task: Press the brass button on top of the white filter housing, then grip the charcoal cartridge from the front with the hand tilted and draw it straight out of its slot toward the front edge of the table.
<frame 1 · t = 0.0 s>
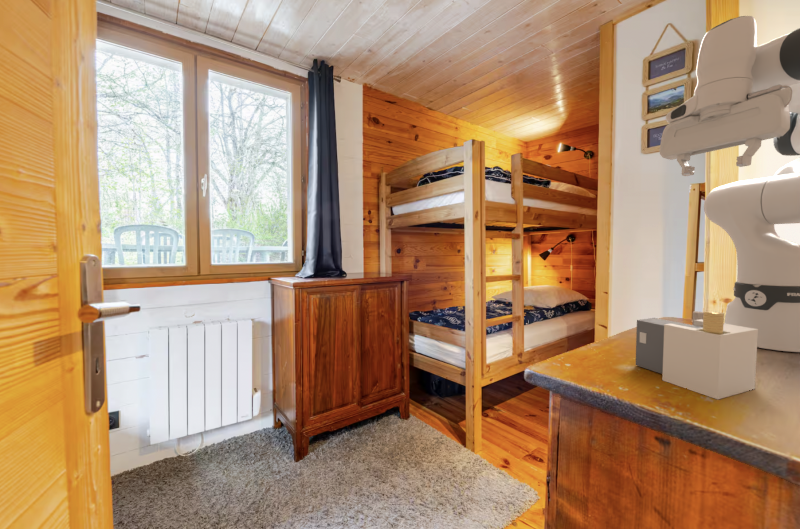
hand: (713, 170, 70), 39 cm above the table, tool pointing down, fingers open, 8 cm apart
cartridge: (669, 347, 63), point 5 cm above the table, slide at 0.0 cm
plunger: (712, 331, 55), point 10 cm above the table, slide at 0.0 cm
pipe connector: (696, 361, 70), on the table
housing: (707, 384, 58), on the table
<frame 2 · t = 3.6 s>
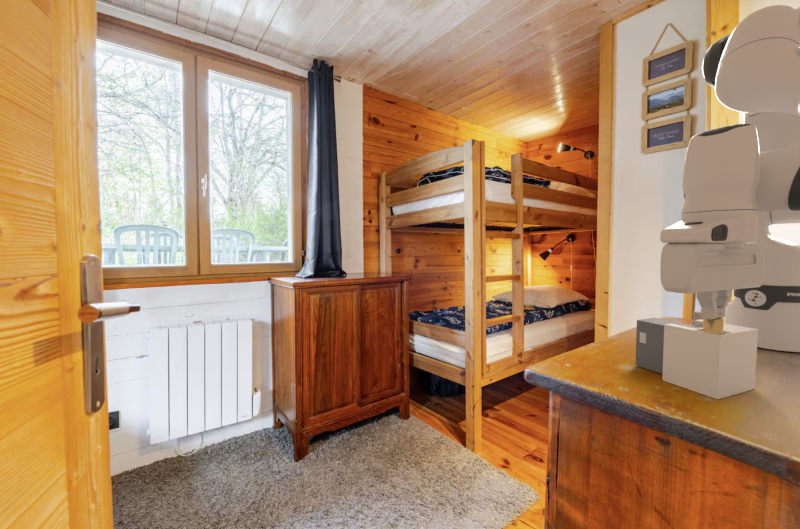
hand: (713, 318, 54), 12 cm above the table, tool pointing down, fingers closed, pressing on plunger
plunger: (712, 336, 55), point 9 cm above the table, slide at 0.9 cm, touching gripper
everything else where it was.
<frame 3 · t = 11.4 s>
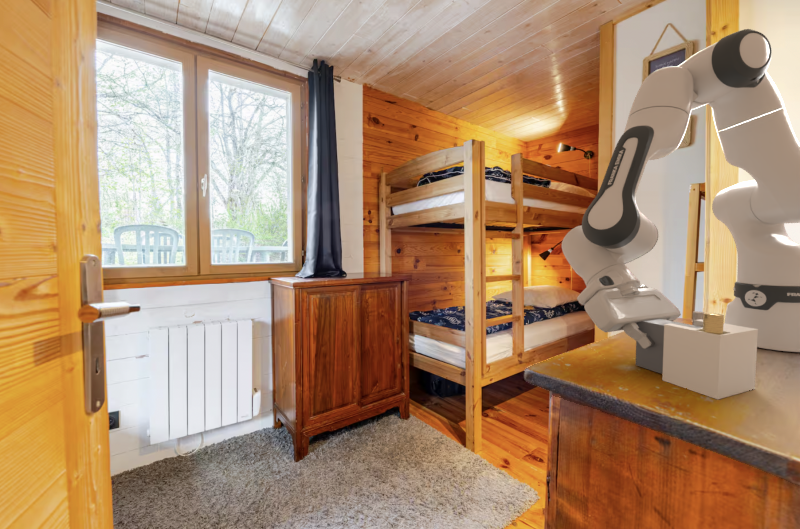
hand: (661, 344, 65), 5 cm above the table, tool tilted 45°, fingers closed on cartridge, 5 cm apart
cartridge: (669, 347, 63), point 5 cm above the table, slide at 0.0 cm, touching gripper
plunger: (712, 332, 55), point 10 cm above the table, slide at 0.3 cm
everything else where it was.
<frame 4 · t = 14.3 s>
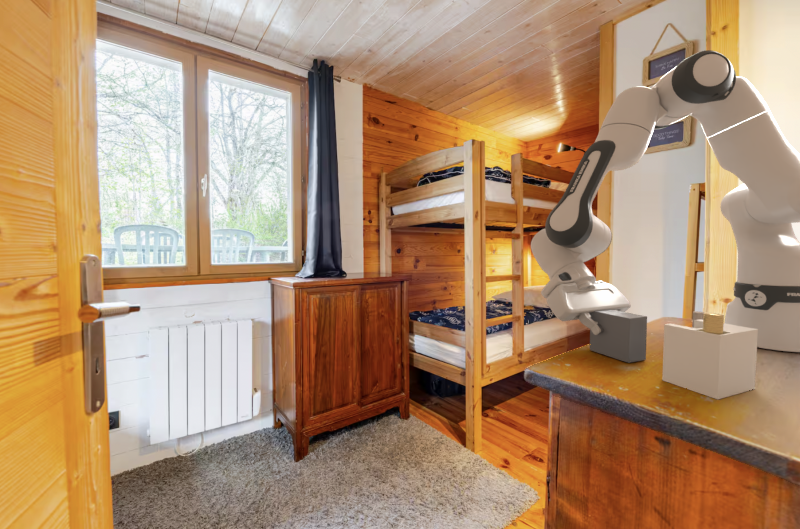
hand: (611, 331, 74), 5 cm above the table, tool tilted 45°, fingers closed on cartridge, 5 cm apart
cartridge: (617, 334, 73), point 5 cm above the table, slide at 10.4 cm, touching gripper
everything else where it was.
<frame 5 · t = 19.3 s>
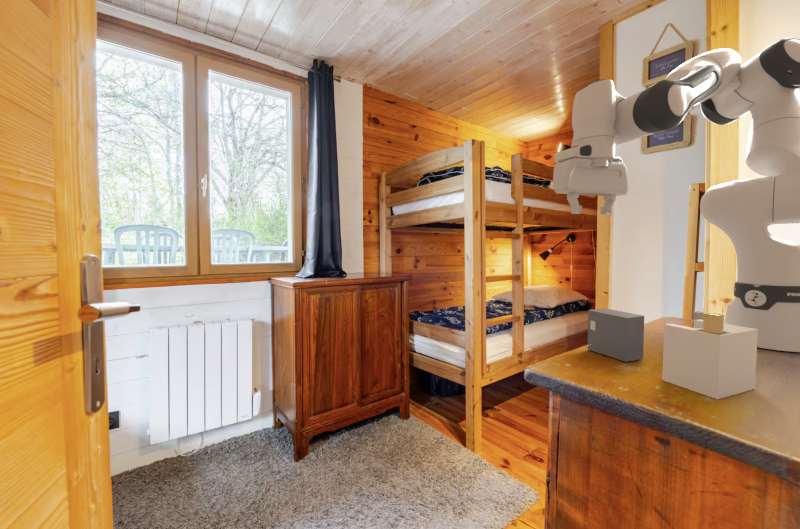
hand: (591, 214, 80), 31 cm above the table, tool pointing down, fingers open, 8 cm apart
cartridge: (614, 333, 74), point 5 cm above the table, slide at 10.9 cm
everything else where it was.
at the end: cartridge slide at 10.9 cm; the gripper is holding nothing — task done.
